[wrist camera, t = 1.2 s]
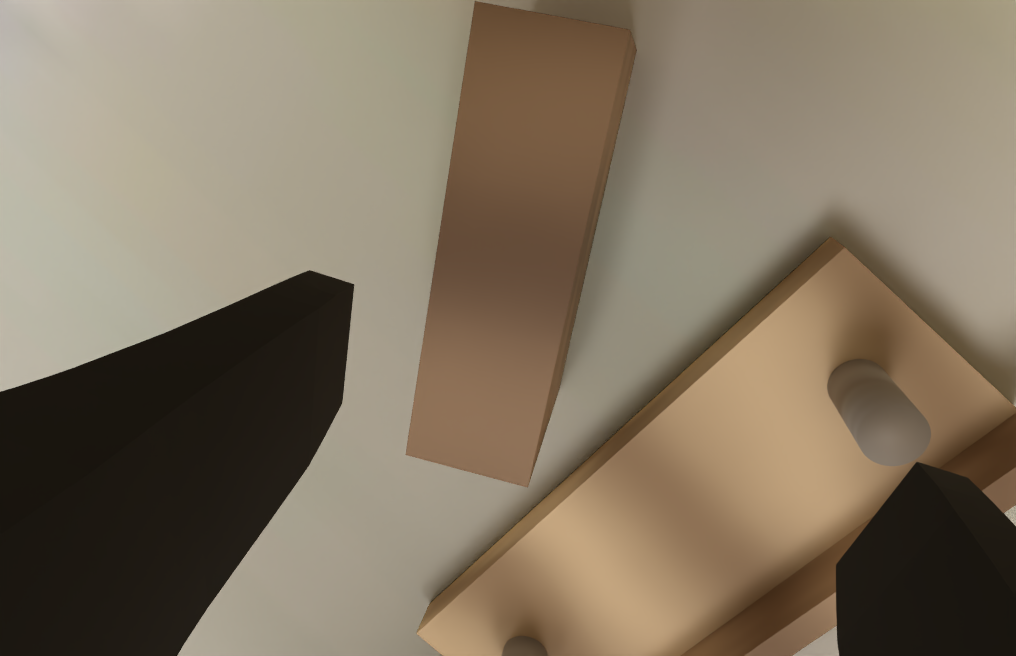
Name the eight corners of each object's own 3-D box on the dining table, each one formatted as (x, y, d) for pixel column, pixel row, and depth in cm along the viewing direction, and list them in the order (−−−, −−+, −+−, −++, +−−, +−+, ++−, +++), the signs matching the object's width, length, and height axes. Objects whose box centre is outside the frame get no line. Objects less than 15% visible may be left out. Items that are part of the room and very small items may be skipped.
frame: (559, 389, 22) (527, 487, 17) (465, 365, 23) (403, 454, 17) (636, 50, 19) (630, 29, 13) (525, 29, 19) (472, 0, 14)
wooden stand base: (573, 727, 26) (558, 849, 22) (429, 604, 25) (385, 703, 21) (1013, 407, 20) (1111, 491, 15) (830, 236, 19) (881, 274, 15)
